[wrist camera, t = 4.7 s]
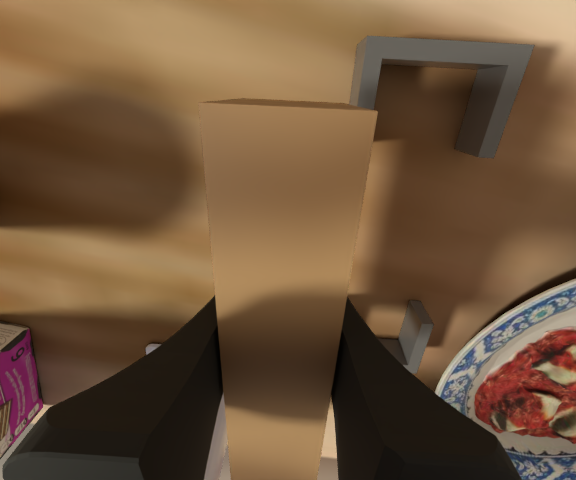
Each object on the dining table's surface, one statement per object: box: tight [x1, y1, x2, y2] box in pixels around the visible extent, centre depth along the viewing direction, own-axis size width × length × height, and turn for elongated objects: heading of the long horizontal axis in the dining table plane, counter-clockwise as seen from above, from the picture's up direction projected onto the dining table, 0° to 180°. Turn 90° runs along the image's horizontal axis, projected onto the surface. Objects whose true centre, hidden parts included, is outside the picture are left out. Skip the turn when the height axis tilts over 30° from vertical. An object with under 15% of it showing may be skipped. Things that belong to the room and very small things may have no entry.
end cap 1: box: [378, 300, 434, 373], centre depth 22 cm, size 5×7×2 cm, turn 87°
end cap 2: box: [349, 36, 534, 158], centre depth 15 cm, size 5×7×2 cm, turn 87°
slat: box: [198, 98, 378, 480], centre depth 11 cm, size 15×4×5 cm, turn 178°
